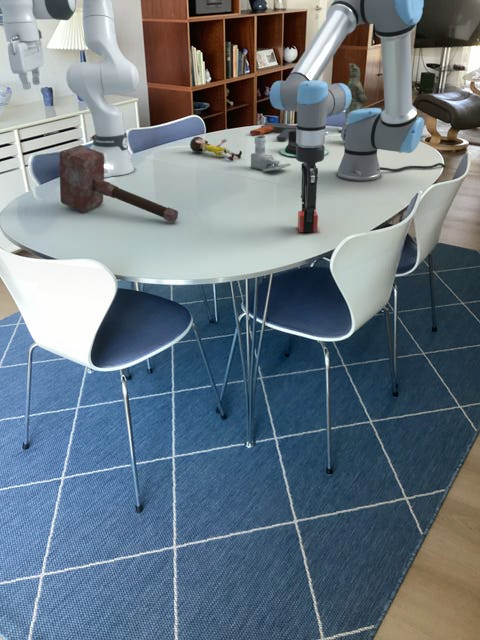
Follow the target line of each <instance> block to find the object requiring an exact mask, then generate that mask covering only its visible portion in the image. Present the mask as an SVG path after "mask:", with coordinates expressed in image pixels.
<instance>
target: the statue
mask: <svg viewBox="0 0 480 640" xmlns="http://www.w3.org/2000/svg"><path fill="white" fill-rule="evenodd" d="M348 70H349V73H350V75H349V76H350V78H349V81H348V82H347V85H346V86H347V87H348V88H349V89H350V91H351V96H352V99H351V103H350V105H349V107H348V108H347V109H346V110H345V111H344V115H345V123H346V122H347V116H348V114H349V113H350V112H351V111H354V110H359V109H364V104H365V103H367V102H368V96H367V95H366V94H365V91H364V86H363V84H362V82H361V68H360V67H359V66H358V65H357V64H356V63H351V62H350V63H348Z"/></svg>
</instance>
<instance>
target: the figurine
mask: <svg viewBox="0 0 480 640" xmlns="http://www.w3.org/2000/svg"><path fill="white" fill-rule="evenodd" d="M227 141H228V139H227V138H222V139H221V142H220V143H219V144H217V145H213V144H210V143H209V141H208V140H206V139H203V137H201V136H195V137H193V138H192V139H191V140H190V143H189V146H190V149H191V150H192V152H194V153H205V152H209V153H210V152H211V153H214V154H215V155H216V156H218V157H219V158H222V157H223V158H225V159H228V160H229V161H231V162H233V161H234V158H237V159H241V158H242V154H243V151H242V150H239V153H235V152H233V151H231V150H230V149H228V148H227V147H221V146H222V145H223V144H225V143H226V142H227ZM228 154H229V155H228Z"/></svg>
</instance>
